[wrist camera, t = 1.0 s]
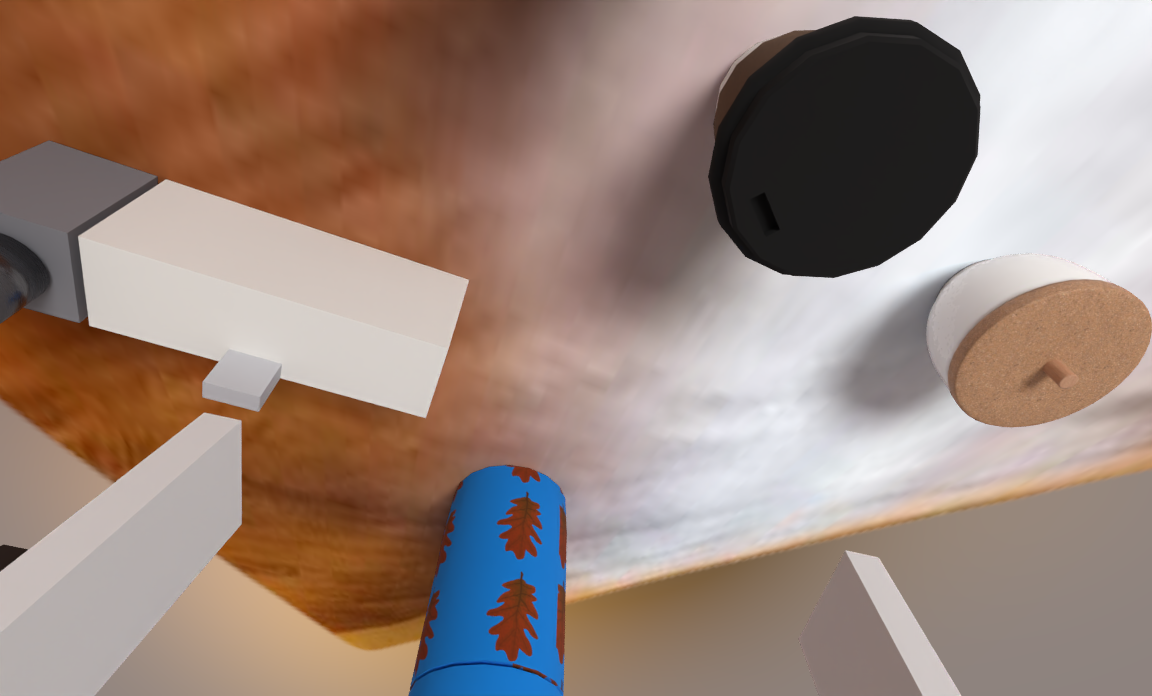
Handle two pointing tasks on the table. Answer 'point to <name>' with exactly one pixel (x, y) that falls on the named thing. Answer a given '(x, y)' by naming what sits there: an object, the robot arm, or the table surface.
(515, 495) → the thermos
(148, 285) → the white box with knob
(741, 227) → the coffee cup
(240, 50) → the table surface
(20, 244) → the bar
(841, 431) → the table surface
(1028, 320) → the lidded jar
